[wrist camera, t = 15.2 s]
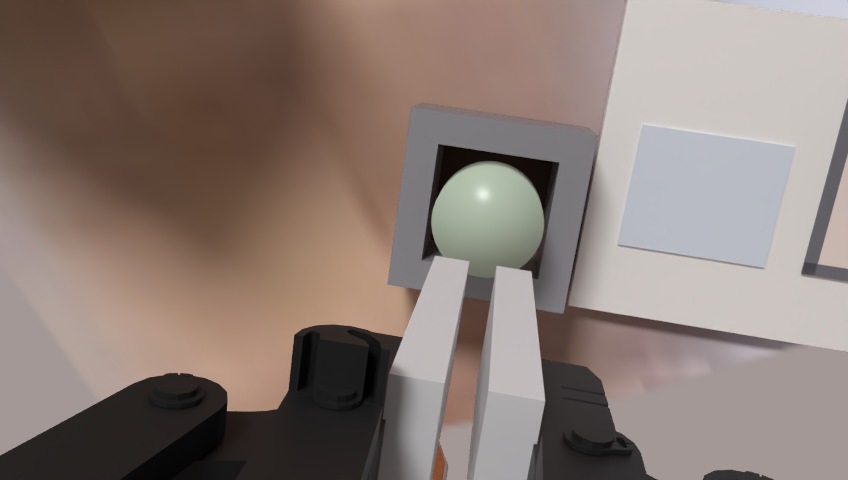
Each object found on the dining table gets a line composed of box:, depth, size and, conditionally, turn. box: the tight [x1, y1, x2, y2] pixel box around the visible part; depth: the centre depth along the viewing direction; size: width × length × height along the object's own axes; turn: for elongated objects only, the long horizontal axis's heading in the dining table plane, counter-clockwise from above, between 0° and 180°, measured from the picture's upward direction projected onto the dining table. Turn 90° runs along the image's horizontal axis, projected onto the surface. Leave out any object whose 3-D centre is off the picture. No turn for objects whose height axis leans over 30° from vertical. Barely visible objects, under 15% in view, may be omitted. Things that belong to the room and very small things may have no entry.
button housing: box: [388, 103, 598, 314], centre depth 31 cm, size 7×7×4 cm
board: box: [567, 0, 848, 352], centre depth 31 cm, size 18×13×1 cm
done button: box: [431, 161, 544, 278], centre depth 28 cm, size 4×4×2 cm
